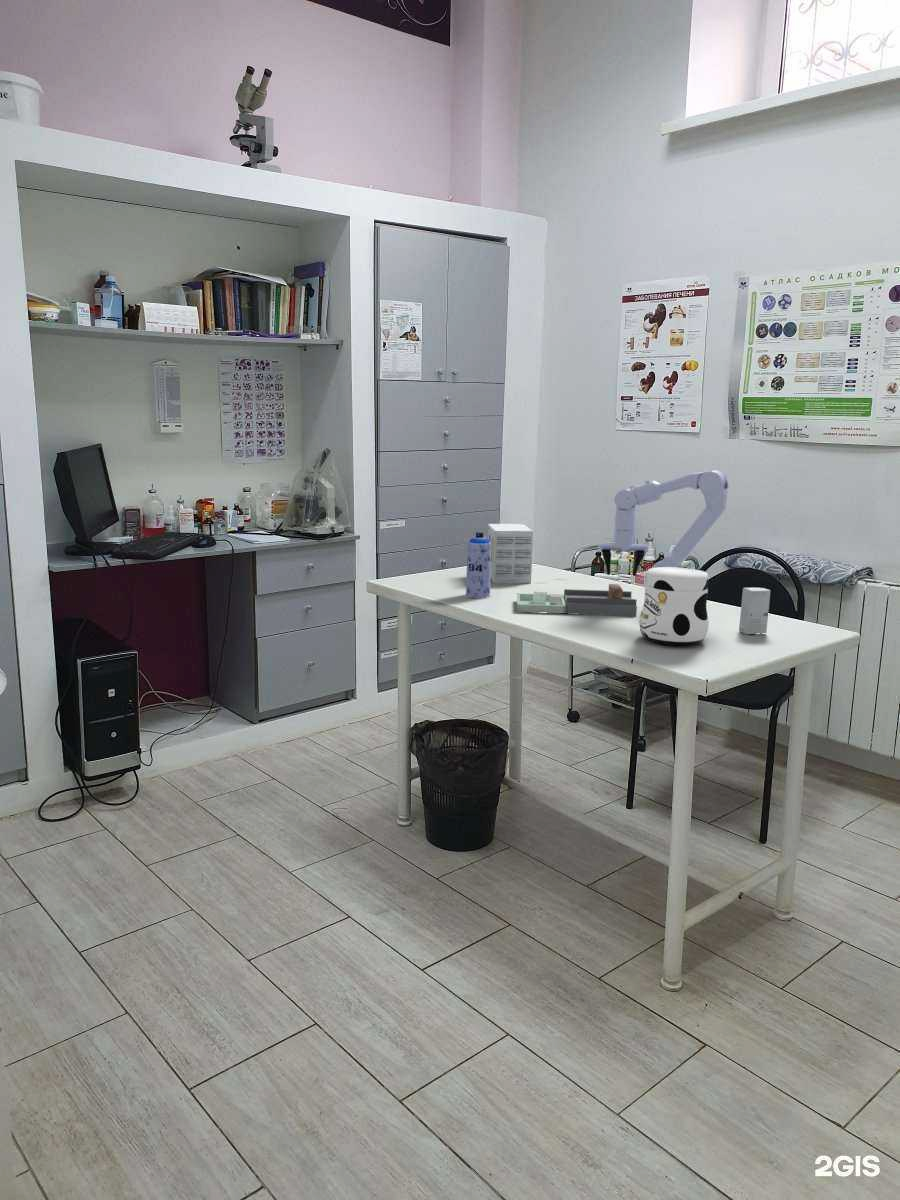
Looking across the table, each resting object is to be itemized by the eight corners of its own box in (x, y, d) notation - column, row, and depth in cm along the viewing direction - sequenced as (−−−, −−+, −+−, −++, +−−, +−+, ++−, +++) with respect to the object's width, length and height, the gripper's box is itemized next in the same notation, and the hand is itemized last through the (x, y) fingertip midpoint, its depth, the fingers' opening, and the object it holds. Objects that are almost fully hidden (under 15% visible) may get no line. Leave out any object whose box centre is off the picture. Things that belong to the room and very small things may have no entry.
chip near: (559, 594, 268) (549, 593, 268) (560, 597, 264) (550, 596, 264) (559, 607, 268) (549, 607, 268) (560, 610, 264) (549, 610, 265)
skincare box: (746, 635, 242) (750, 590, 239) (737, 631, 246) (741, 587, 244) (767, 634, 243) (771, 590, 241) (758, 630, 248) (762, 586, 245)
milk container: (625, 639, 235) (629, 571, 231) (661, 629, 247) (666, 563, 243) (683, 653, 223) (689, 581, 219) (719, 641, 235) (725, 573, 231)
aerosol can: (461, 597, 283) (463, 533, 278) (470, 592, 290) (472, 530, 286) (485, 599, 280) (487, 535, 276) (493, 594, 287) (495, 531, 283)
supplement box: (485, 574, 322) (487, 523, 318) (522, 574, 323) (524, 523, 319) (493, 583, 305) (494, 530, 301) (532, 583, 306) (534, 530, 303)
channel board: (629, 605, 276) (630, 590, 275) (636, 616, 261) (637, 600, 261) (563, 602, 277) (564, 588, 276) (566, 613, 263) (567, 598, 262)
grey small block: (534, 591, 276) (533, 601, 276) (532, 594, 272) (532, 604, 272) (547, 592, 275) (546, 602, 276) (546, 594, 271) (545, 604, 272)
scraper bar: (618, 597, 272) (619, 584, 271) (621, 603, 264) (622, 590, 263) (608, 597, 272) (608, 583, 272) (611, 603, 264) (612, 589, 263)
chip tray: (562, 602, 278) (563, 594, 277) (565, 614, 262) (566, 606, 262) (516, 600, 279) (517, 593, 278) (517, 612, 263) (517, 604, 262)
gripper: (646, 528, 273) (643, 573, 275) (598, 527, 273) (595, 571, 276) (650, 532, 266) (647, 577, 269) (600, 530, 266) (598, 575, 269)
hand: (621, 574), depth 272 cm, fingers open, 7 cm apart
